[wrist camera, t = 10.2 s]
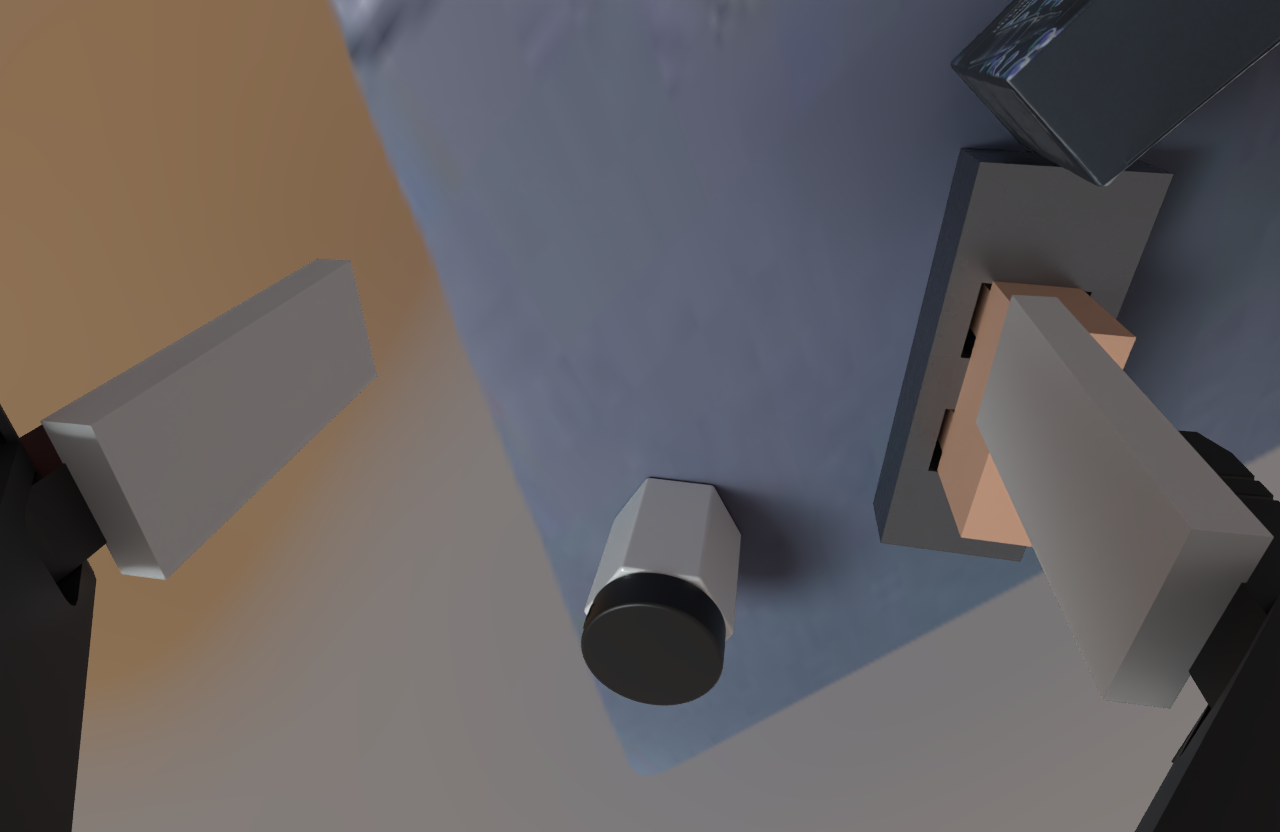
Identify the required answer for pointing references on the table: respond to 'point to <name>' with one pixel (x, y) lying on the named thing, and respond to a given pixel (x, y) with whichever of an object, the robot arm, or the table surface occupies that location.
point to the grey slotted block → (982, 253)
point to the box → (1110, 71)
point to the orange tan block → (964, 452)
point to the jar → (664, 595)
